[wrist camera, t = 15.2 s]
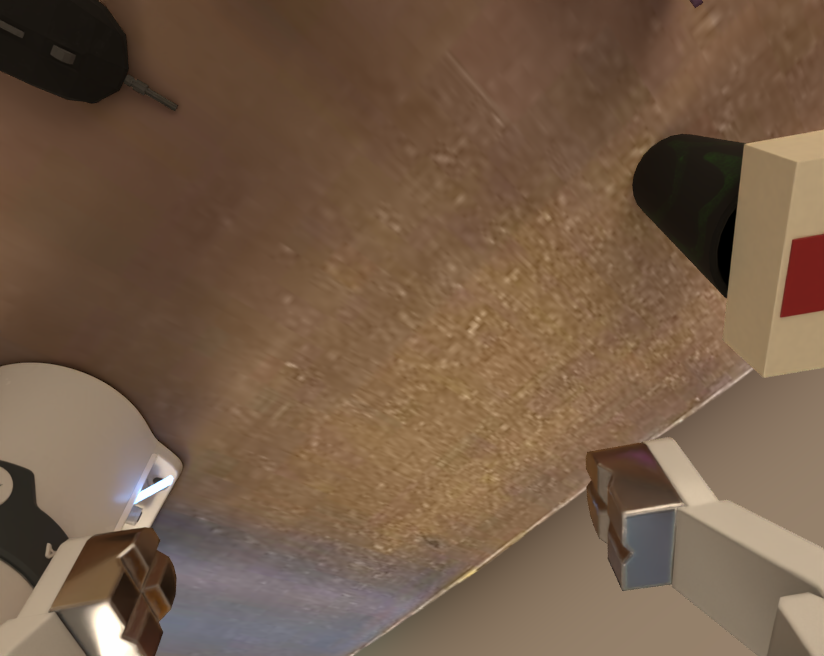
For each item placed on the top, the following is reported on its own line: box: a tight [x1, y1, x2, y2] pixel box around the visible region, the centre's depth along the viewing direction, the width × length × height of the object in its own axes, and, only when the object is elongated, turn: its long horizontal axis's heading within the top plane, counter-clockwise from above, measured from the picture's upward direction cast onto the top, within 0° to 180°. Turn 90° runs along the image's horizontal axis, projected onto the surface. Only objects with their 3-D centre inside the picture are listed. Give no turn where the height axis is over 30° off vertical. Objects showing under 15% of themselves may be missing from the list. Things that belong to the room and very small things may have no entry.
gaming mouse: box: [0, 0, 178, 111], centre depth 30 cm, size 6×15×4 cm, turn 56°
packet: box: [722, 130, 824, 378], centre depth 26 cm, size 10×6×4 cm, turn 9°
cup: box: [632, 134, 746, 298], centre depth 33 cm, size 8×8×12 cm
